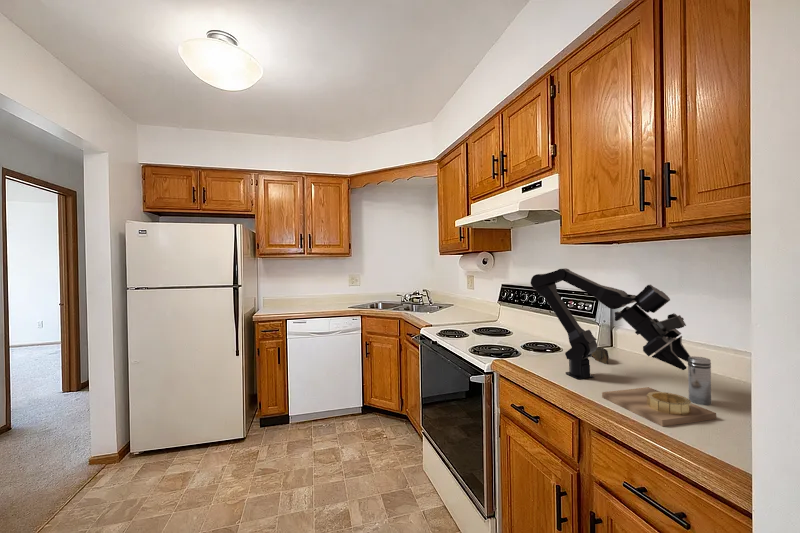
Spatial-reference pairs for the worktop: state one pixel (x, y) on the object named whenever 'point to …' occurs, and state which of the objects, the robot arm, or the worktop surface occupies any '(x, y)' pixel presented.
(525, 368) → the worktop surface
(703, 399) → the piston
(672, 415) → the walnut board
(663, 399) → the brass ring collar
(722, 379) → the worktop surface
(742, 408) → the worktop surface
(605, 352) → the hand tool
